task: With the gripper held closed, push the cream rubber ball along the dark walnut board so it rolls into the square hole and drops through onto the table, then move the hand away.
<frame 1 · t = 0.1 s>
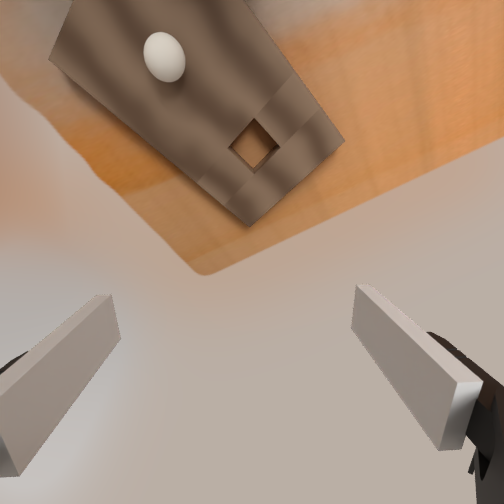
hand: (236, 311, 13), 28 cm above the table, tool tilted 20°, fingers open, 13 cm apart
hole board: (214, 102, 31), on the table
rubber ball: (165, 58, 25), point 4 cm above the table, touching hole board
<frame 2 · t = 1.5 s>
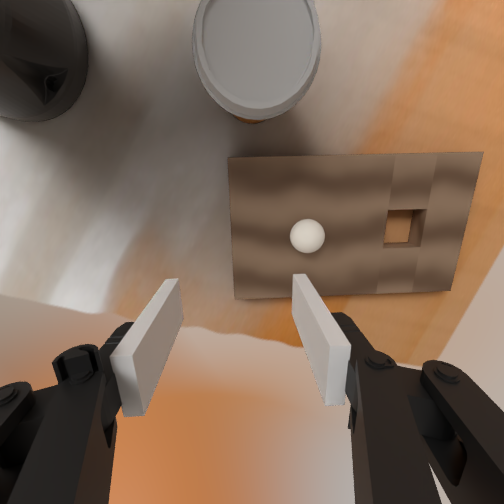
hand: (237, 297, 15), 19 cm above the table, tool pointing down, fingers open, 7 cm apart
disposable coffee cup: (251, 93, 29), on the table
hole board: (342, 226, 34), on the table
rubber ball: (307, 236, 29), point 4 cm above the table, touching hole board
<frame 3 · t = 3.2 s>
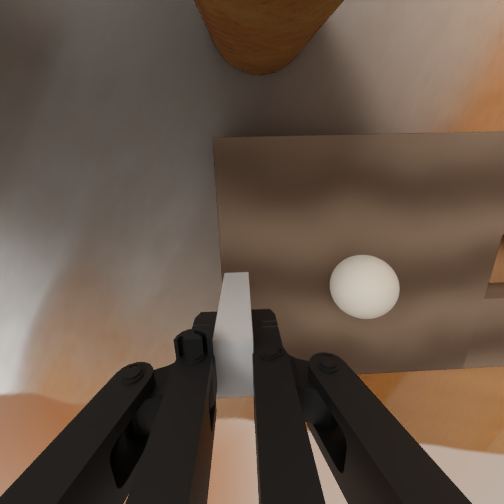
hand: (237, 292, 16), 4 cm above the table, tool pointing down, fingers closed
disposable coffee cup: (258, 15, 15), on the table
hole board: (409, 258, 20), on the table
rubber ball: (362, 286, 16), point 4 cm above the table, touching hole board
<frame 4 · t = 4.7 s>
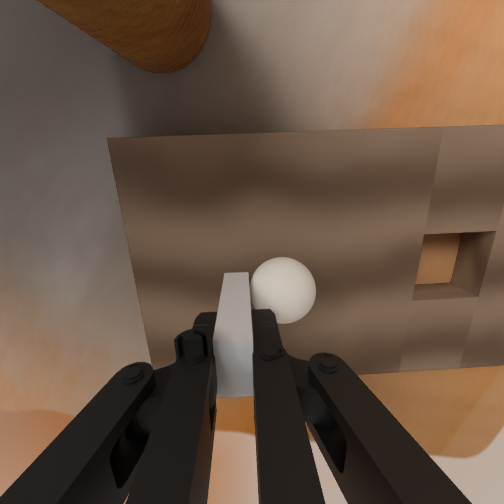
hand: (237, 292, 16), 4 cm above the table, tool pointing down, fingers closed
disposable coffee cup: (156, 11, 14), on the table
hole board: (340, 260, 20), on the table
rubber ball: (282, 289, 15), point 4 cm above the table, tilted 16°, touching hole board
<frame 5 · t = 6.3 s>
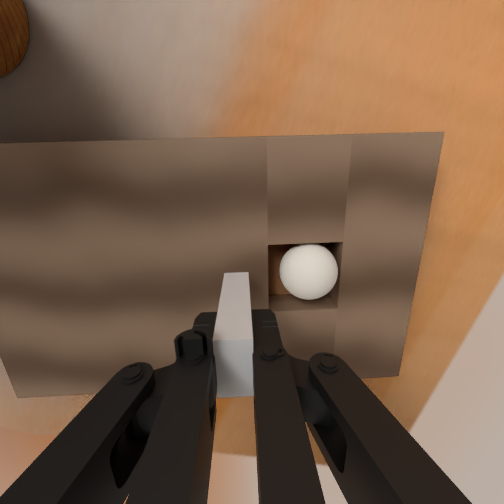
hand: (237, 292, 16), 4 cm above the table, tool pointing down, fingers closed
hole board: (207, 269, 19), on the table
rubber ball: (307, 270, 17), point 2 cm above the table, tilted 48°
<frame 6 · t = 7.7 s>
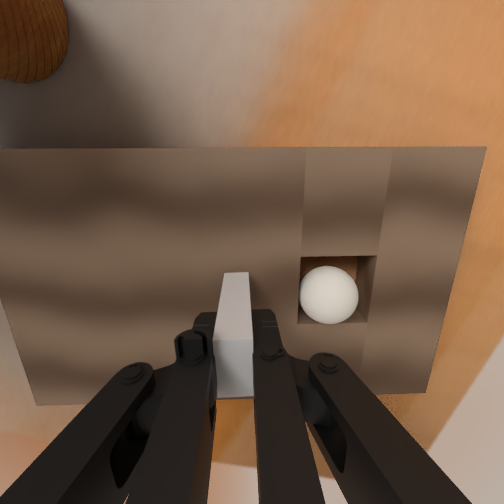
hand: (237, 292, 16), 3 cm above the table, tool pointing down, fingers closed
disposable coffee cup: (14, 21, 14), on the table
hole board: (233, 278, 19), on the table
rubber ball: (327, 294, 17), point 2 cm above the table, tilted 17°
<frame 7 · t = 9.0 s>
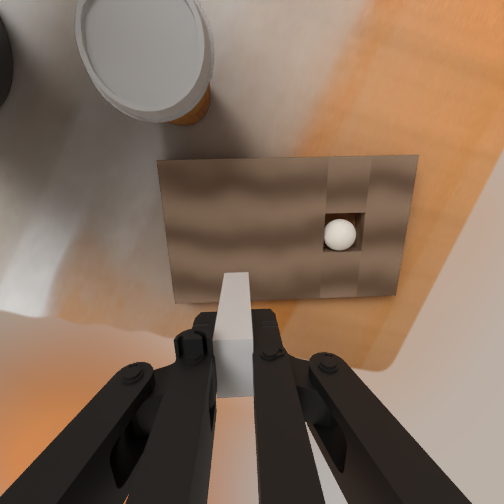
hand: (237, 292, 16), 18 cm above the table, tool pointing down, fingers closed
disposable coffee cup: (182, 96, 28), on the table
hole board: (284, 230, 33), on the table
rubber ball: (339, 234, 32), point 2 cm above the table, tilted 20°
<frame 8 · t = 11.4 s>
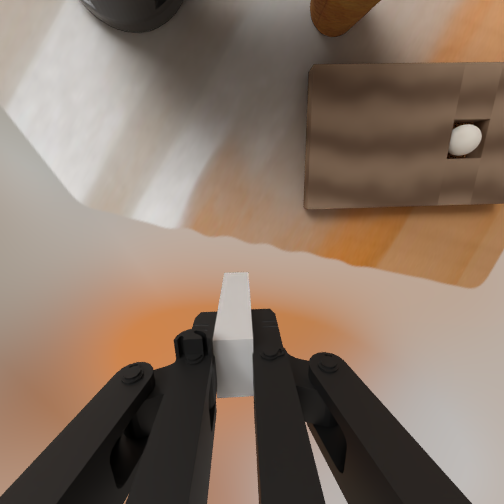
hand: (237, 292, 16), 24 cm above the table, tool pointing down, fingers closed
disposable coffee cup: (334, 8, 31), on the table
hole board: (406, 142, 36), on the table
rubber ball: (462, 140, 35), point 2 cm above the table, tilted 26°
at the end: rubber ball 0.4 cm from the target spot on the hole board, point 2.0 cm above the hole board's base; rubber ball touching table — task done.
